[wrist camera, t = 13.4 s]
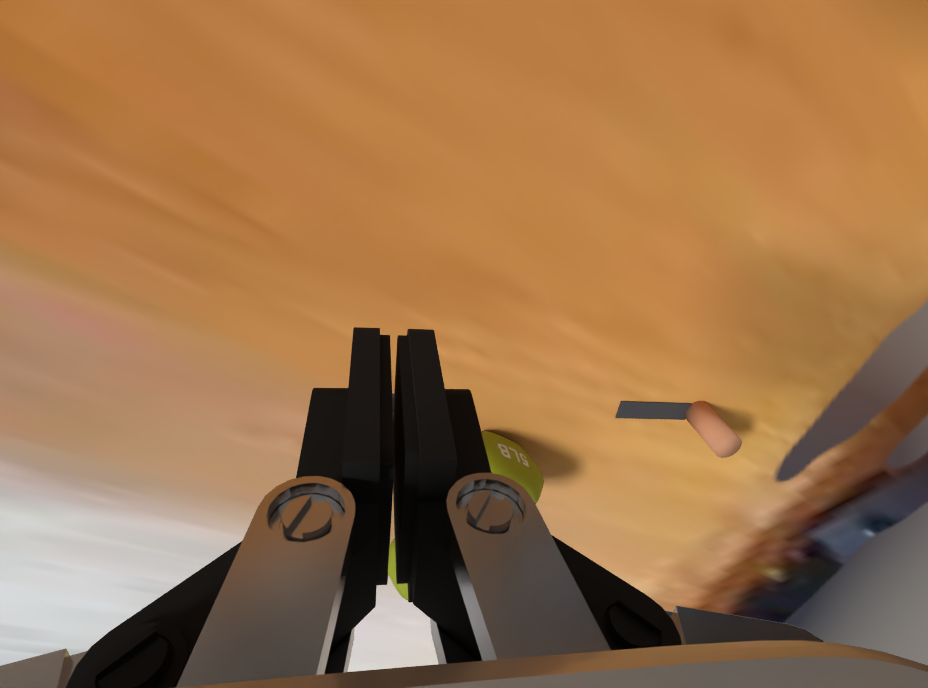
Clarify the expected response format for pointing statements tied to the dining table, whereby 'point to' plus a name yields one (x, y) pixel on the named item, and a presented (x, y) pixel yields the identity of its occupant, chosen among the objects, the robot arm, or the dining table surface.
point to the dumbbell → (502, 461)
